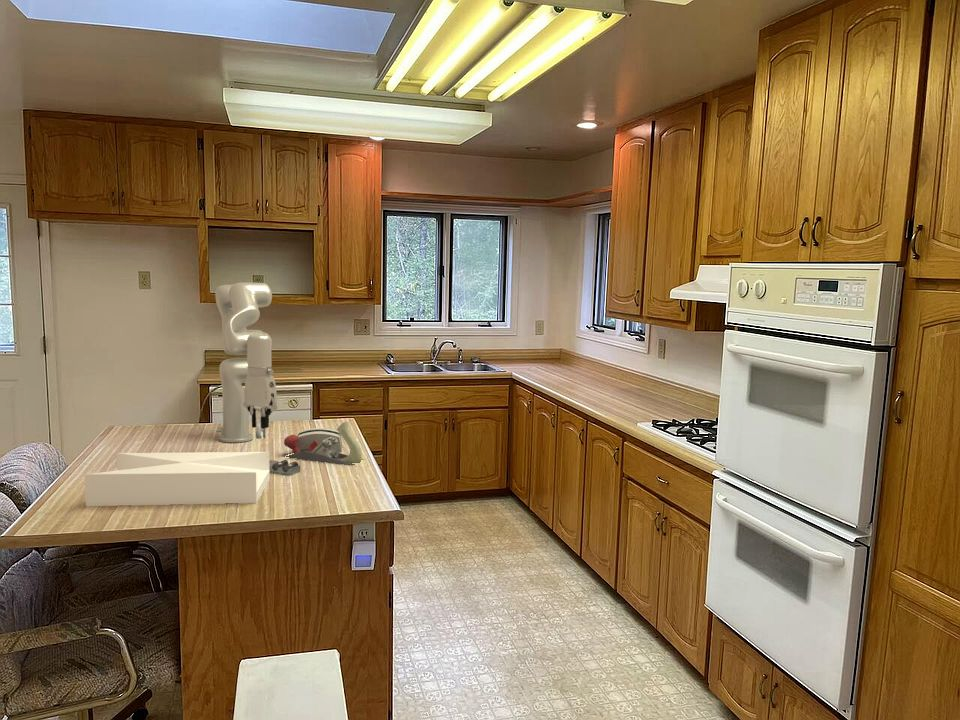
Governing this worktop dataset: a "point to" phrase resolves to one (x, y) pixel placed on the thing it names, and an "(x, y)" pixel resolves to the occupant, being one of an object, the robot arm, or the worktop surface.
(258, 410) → the pin
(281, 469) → the knobbed grey strip
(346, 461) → the hand plane
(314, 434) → the beige arched grooved block
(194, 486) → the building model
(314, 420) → the worktop surface
